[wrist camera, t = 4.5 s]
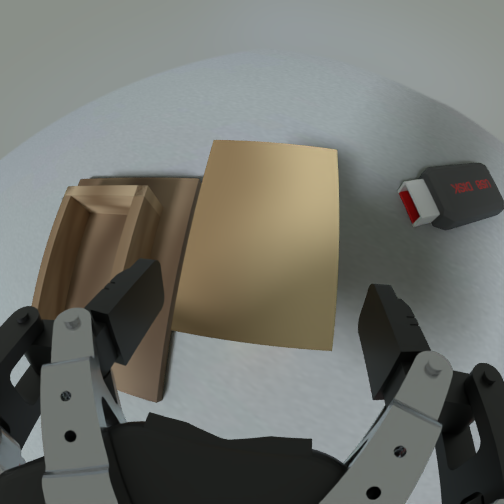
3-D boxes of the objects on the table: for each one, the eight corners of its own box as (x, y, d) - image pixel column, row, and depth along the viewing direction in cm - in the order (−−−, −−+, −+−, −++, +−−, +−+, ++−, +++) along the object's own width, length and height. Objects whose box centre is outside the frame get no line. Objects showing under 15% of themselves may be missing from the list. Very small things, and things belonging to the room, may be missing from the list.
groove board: (201, 185, 21) (189, 153, 17) (162, 400, 16) (135, 411, 12) (85, 184, 22) (63, 161, 18) (42, 353, 17) (9, 349, 13)
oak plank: (302, 257, 18) (337, 149, 8) (293, 347, 16) (331, 351, 6) (243, 251, 19) (213, 139, 8) (230, 340, 17) (170, 330, 7)
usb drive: (495, 216, 19) (510, 204, 16) (415, 240, 19) (431, 225, 16) (473, 172, 21) (486, 158, 18) (390, 184, 21) (402, 165, 18)
